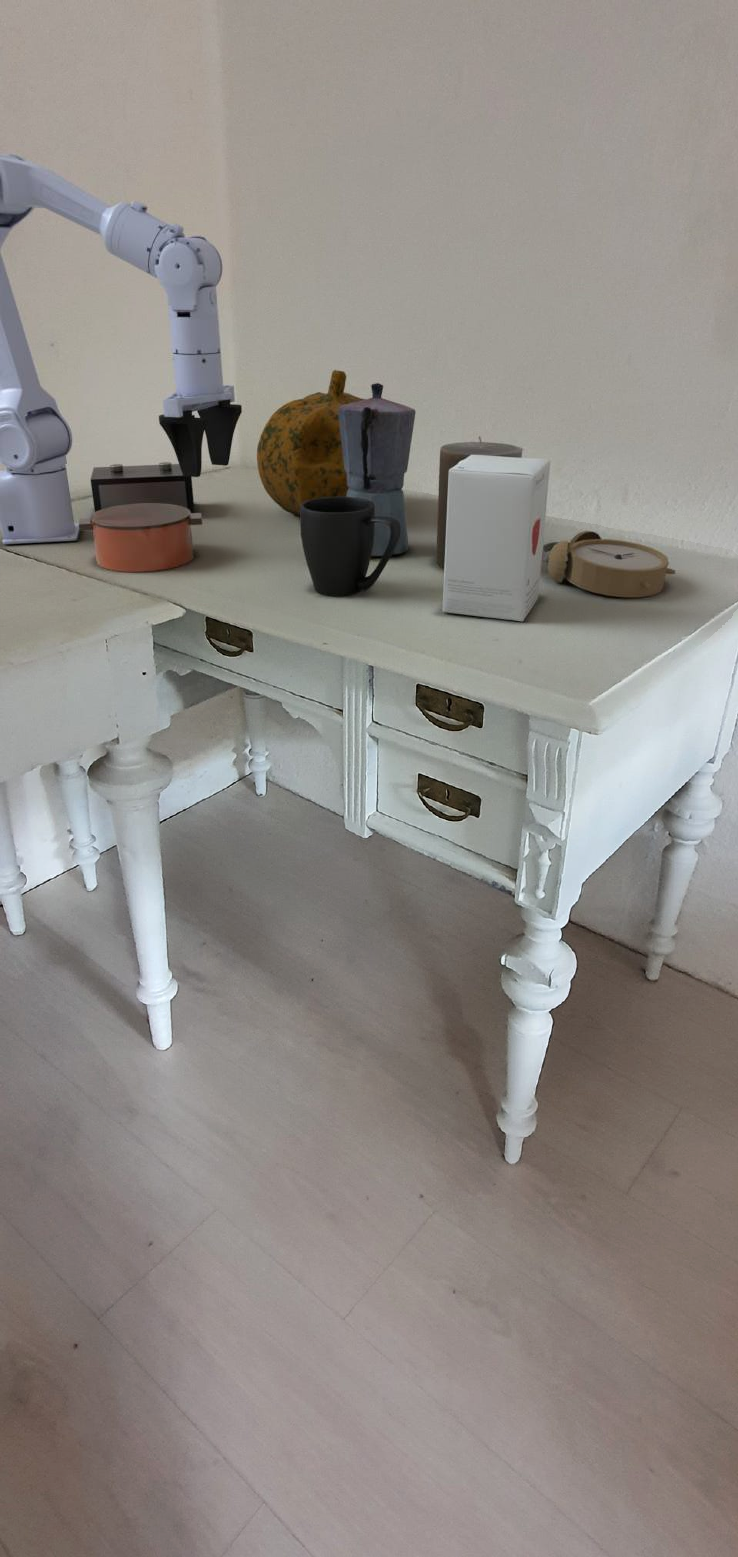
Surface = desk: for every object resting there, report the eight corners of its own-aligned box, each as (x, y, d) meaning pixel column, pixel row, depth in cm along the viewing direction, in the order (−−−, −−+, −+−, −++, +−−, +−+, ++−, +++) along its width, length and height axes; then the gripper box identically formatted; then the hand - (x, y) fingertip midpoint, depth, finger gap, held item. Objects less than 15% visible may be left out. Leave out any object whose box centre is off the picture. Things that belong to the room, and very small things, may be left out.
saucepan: (82, 575, 115) (75, 529, 113) (87, 548, 126) (81, 506, 123) (207, 568, 118) (203, 522, 115) (202, 542, 128) (198, 500, 126)
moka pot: (415, 536, 131) (419, 377, 121) (408, 569, 117) (411, 393, 107) (345, 535, 131) (343, 376, 122) (330, 567, 118) (326, 392, 108)
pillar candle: (448, 577, 114) (452, 444, 107) (427, 555, 123) (430, 430, 115) (526, 572, 116) (536, 441, 109) (501, 550, 124) (508, 428, 117)
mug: (373, 611, 103) (373, 521, 99) (287, 591, 110) (284, 506, 105) (416, 592, 109) (418, 506, 105) (332, 574, 115) (330, 492, 111)
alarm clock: (647, 579, 103) (526, 533, 110) (633, 621, 106) (517, 574, 112) (686, 556, 111) (571, 514, 118) (672, 595, 114) (561, 552, 120)
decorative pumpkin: (246, 496, 149) (250, 355, 139) (377, 499, 154) (389, 364, 144) (267, 533, 132) (273, 376, 122) (413, 536, 138) (430, 386, 128)
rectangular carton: (524, 623, 100) (536, 474, 93) (440, 614, 102) (445, 468, 95) (541, 597, 107) (553, 457, 100) (462, 589, 110) (468, 452, 103)
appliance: (96, 522, 138) (89, 473, 135) (99, 508, 146) (92, 461, 143) (195, 517, 141) (190, 469, 137) (192, 503, 148) (188, 457, 145)
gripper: (197, 358, 108) (207, 483, 114) (253, 348, 120) (259, 461, 126) (142, 357, 110) (155, 479, 116) (202, 346, 122) (211, 458, 128)
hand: (206, 470), depth 122 cm, fingers open, 7 cm apart
